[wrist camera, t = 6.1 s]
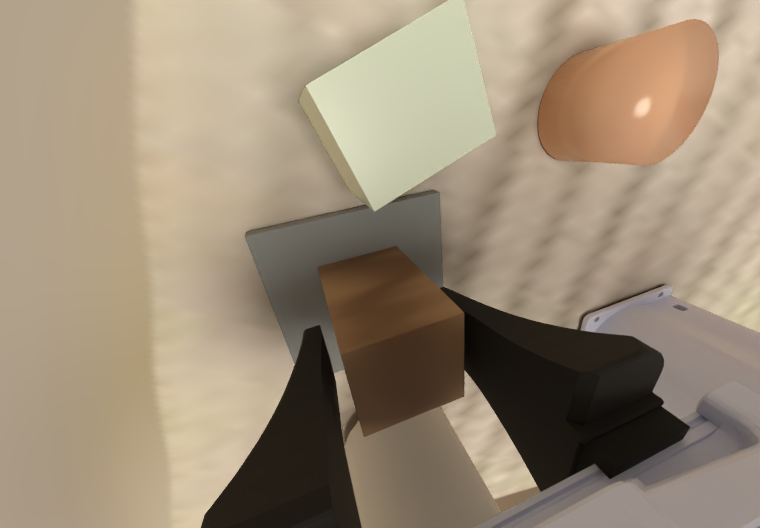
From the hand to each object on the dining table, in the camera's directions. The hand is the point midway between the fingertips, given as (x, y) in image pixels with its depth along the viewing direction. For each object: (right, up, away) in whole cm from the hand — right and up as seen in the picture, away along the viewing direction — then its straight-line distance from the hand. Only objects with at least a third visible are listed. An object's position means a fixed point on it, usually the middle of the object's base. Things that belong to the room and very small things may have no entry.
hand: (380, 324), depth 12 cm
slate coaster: (-1, +1, +3) cm, 3 cm away
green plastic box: (0, +9, 0) cm, 9 cm away
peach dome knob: (+10, +11, +2) cm, 15 cm away
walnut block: (-1, +1, +2) cm, 3 cm away
